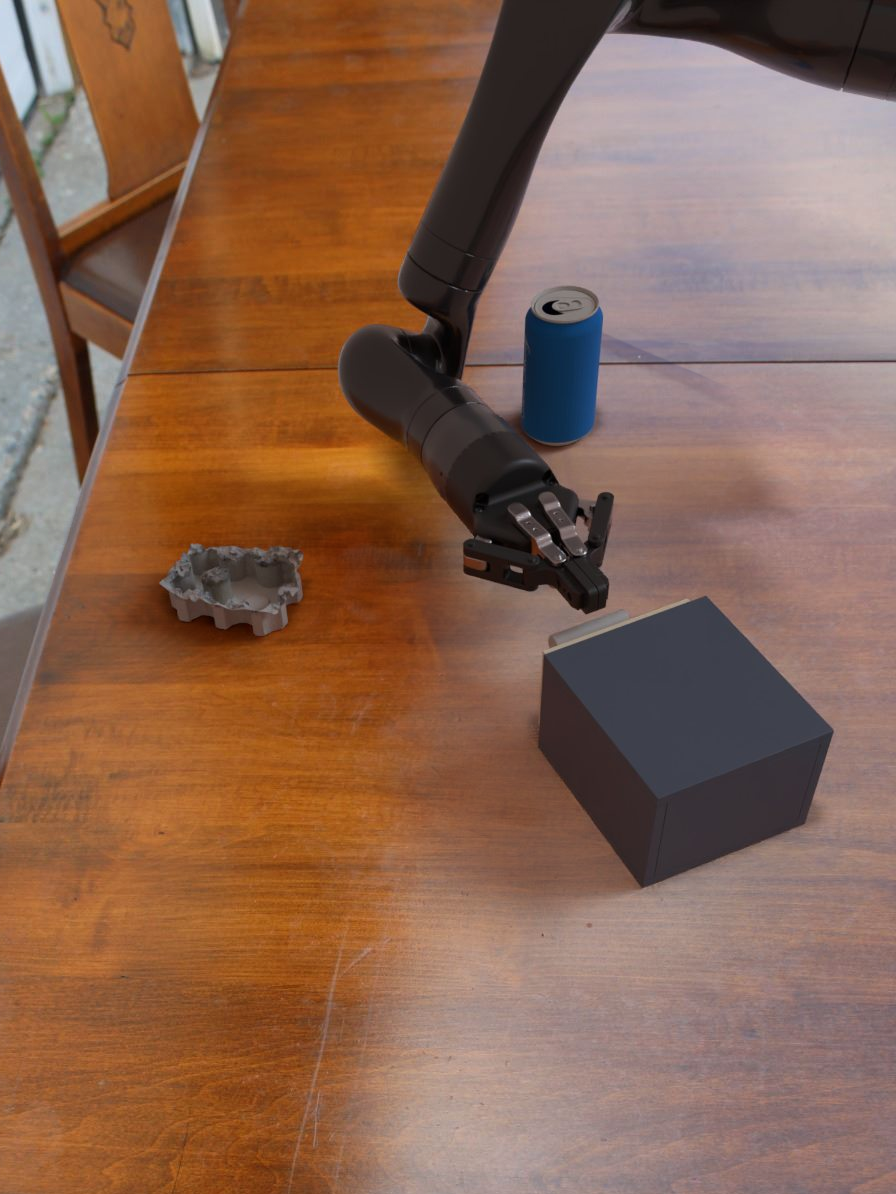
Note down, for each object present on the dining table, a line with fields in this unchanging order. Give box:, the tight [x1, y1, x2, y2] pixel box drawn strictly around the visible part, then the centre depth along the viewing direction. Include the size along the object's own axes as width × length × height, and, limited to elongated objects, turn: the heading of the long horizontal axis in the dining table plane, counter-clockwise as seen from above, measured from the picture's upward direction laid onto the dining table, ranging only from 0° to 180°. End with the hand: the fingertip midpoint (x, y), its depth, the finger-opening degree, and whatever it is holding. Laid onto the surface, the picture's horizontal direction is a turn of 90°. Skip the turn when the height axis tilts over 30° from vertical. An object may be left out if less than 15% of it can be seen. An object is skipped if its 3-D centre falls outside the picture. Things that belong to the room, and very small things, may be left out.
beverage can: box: [520, 285, 604, 447], centre depth 115 cm, size 6×6×12 cm
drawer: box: [537, 598, 690, 727], centre depth 92 cm, size 17×11×7 cm, turn 22°
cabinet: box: [537, 595, 835, 889], centre depth 90 cm, size 15×13×9 cm
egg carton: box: [159, 542, 304, 637], centre depth 109 cm, size 11×8×4 cm
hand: (597, 601), depth 94 cm, fingers closed
